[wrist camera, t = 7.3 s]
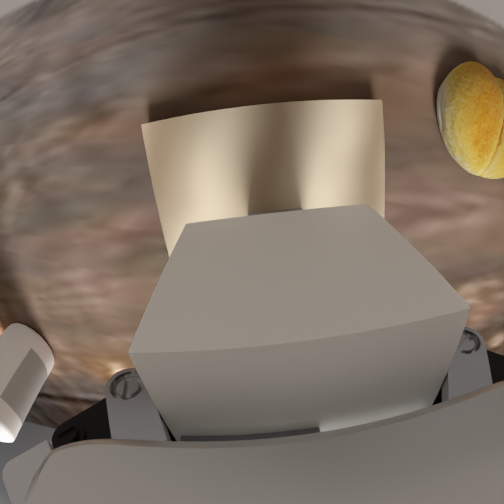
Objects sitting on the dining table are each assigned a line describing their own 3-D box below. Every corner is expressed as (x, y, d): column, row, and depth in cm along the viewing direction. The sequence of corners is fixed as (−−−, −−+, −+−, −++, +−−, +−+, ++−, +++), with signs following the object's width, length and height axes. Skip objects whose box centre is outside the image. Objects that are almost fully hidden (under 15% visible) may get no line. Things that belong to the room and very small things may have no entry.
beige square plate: (372, 100, 17) (419, 100, 11) (371, 290, 23) (399, 341, 17) (149, 123, 17) (108, 131, 12) (190, 310, 23) (176, 367, 18)
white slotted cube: (367, 203, 10) (475, 313, 5) (358, 340, 13) (403, 463, 7) (185, 223, 11) (124, 360, 5) (217, 357, 13) (207, 490, 8)
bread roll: (438, 47, 15) (471, 41, 11) (516, 96, 15) (549, 101, 12) (419, 153, 18) (451, 165, 15) (498, 186, 19) (529, 201, 15)
